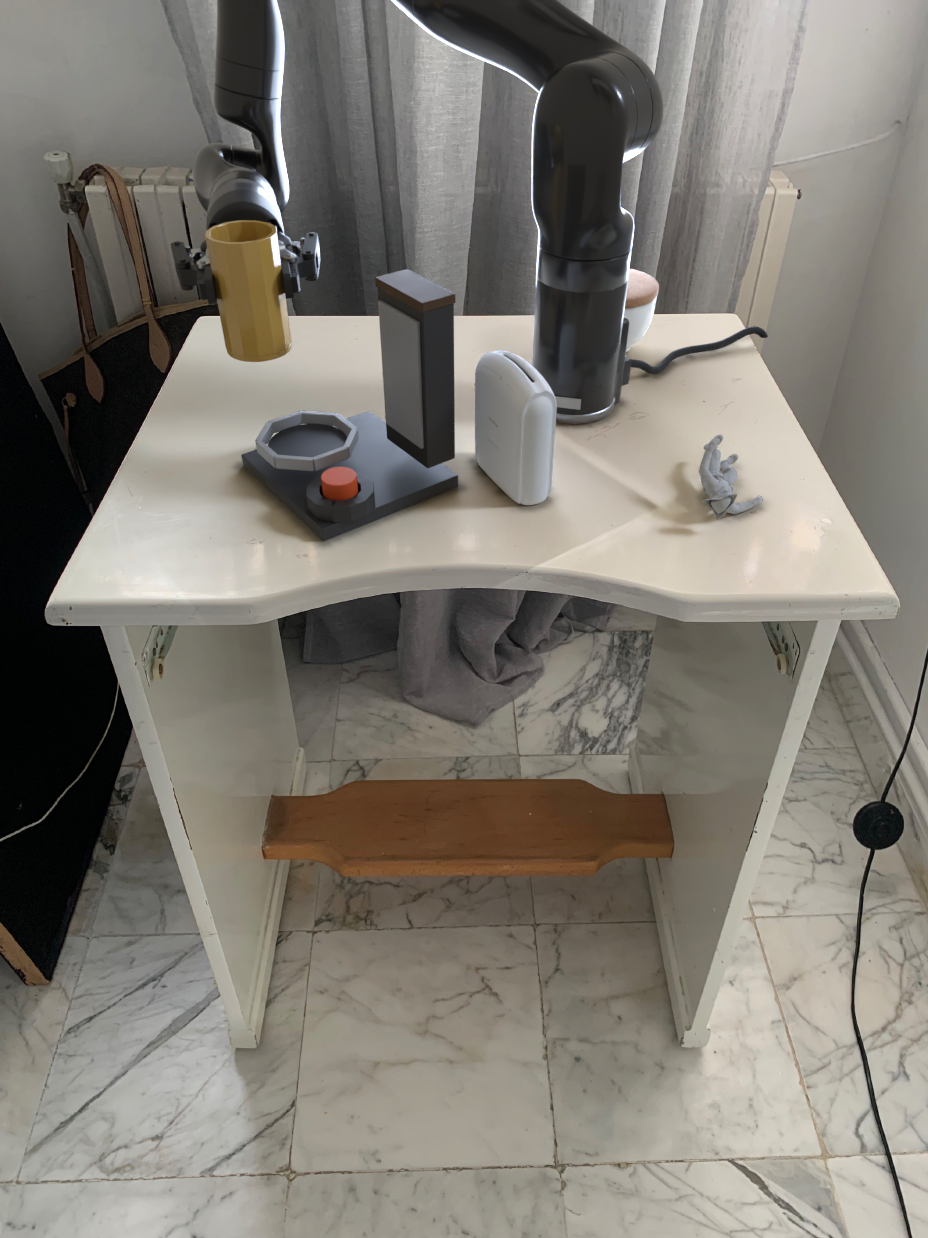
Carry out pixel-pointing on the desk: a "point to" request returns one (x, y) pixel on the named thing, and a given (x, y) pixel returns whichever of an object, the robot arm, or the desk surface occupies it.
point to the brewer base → (380, 478)
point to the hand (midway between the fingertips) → (250, 290)
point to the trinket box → (639, 304)
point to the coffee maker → (388, 386)
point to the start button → (339, 483)
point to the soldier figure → (721, 481)
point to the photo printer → (514, 426)
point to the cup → (249, 289)
